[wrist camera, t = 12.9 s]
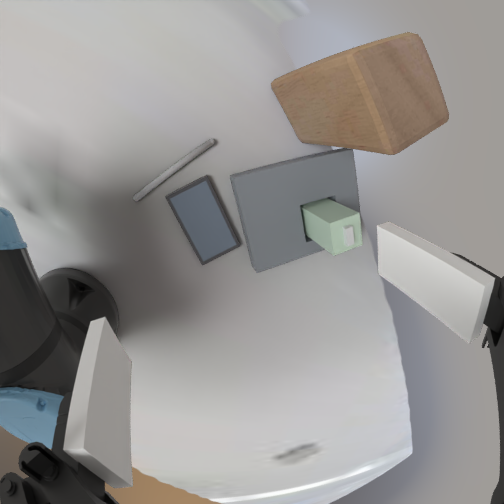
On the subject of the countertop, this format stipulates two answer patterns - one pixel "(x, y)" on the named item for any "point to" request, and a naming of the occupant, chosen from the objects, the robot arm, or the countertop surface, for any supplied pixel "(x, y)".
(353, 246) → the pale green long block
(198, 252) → the phone
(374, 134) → the block
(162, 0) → the countertop surface
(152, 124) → the countertop surface
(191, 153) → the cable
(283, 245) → the plate
